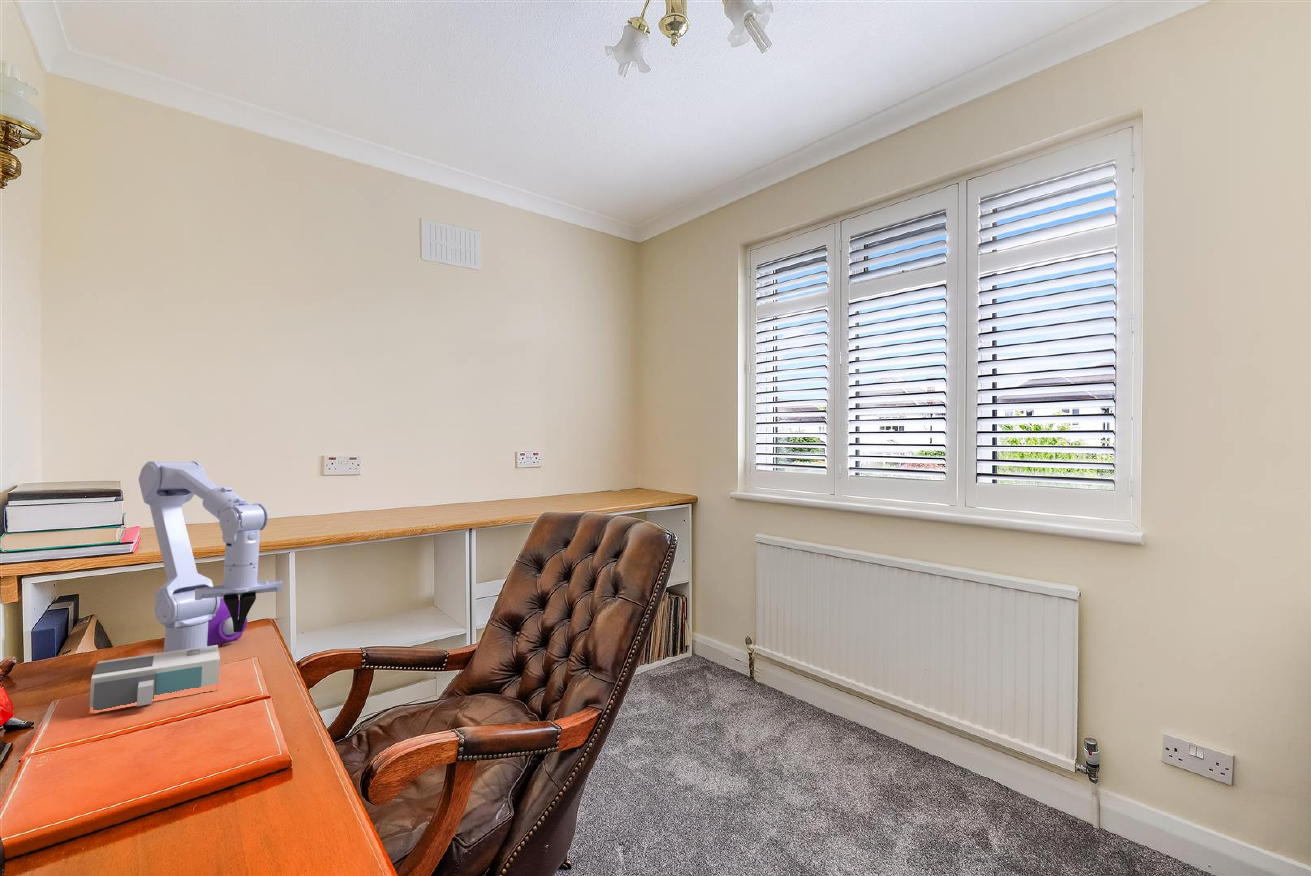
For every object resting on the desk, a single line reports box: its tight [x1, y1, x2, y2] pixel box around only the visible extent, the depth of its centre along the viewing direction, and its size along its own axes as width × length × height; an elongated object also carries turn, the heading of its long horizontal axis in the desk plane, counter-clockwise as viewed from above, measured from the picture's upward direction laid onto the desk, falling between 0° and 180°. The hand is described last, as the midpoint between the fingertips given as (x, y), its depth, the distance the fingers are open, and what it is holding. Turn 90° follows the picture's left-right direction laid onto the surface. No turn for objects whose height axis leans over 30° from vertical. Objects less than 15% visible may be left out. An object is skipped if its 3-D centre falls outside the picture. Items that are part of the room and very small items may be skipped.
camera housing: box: [89, 644, 221, 708], centre depth 112 cm, size 10×18×7 cm, turn 129°
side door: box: [93, 672, 156, 710], centre depth 103 cm, size 4×8×5 cm, turn 129°
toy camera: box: [207, 597, 248, 646], centre depth 141 cm, size 11×14×10 cm
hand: (237, 630), depth 120 cm, fingers closed
